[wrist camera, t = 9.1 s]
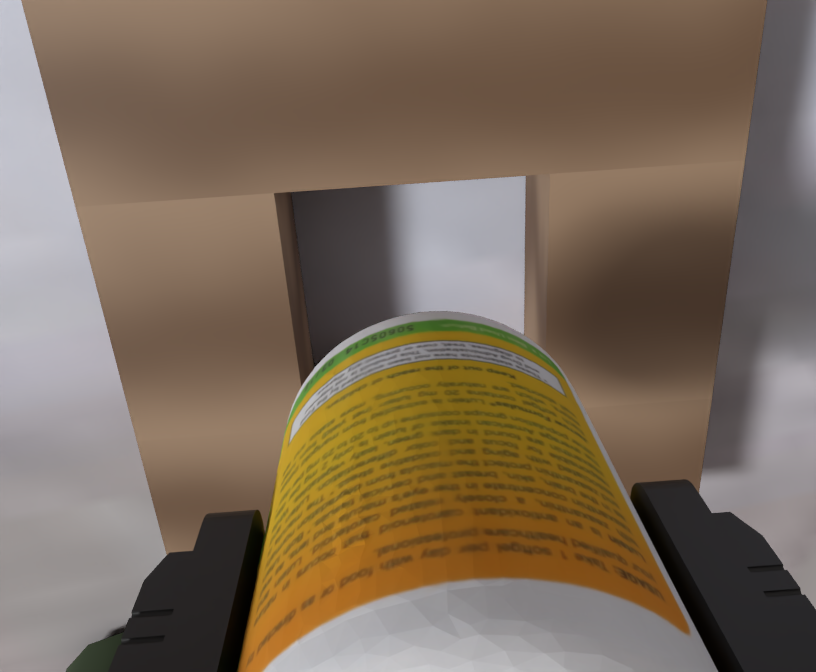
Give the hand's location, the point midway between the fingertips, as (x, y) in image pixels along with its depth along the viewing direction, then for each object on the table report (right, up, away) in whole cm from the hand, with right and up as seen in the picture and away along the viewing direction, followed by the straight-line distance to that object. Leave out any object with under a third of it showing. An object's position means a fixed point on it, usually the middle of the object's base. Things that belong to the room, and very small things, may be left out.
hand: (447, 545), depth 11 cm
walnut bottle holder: (0, +5, +11) cm, 12 cm away
